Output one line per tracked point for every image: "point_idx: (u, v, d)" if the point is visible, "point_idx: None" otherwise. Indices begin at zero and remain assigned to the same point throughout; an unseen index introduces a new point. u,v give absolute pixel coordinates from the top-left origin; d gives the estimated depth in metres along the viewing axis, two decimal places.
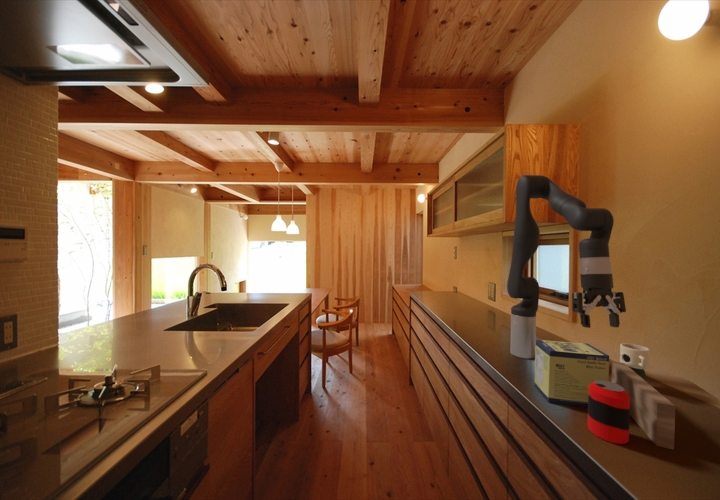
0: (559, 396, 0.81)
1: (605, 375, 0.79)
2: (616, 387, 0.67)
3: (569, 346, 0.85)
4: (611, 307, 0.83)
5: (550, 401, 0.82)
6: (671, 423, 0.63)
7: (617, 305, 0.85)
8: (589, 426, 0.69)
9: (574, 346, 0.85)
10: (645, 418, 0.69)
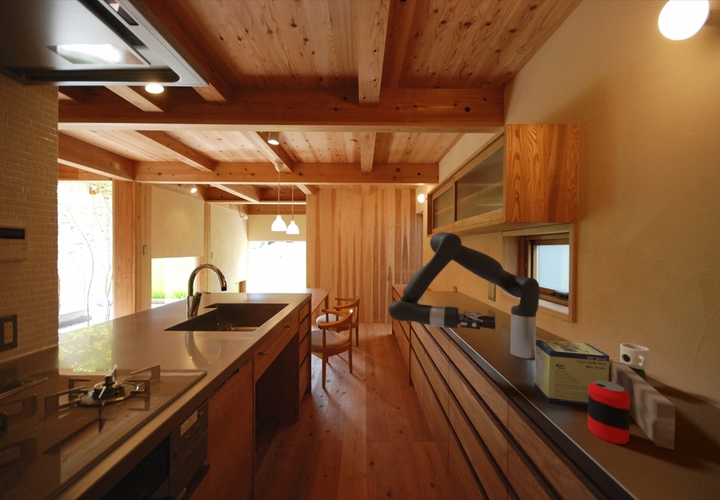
0: (559, 396, 0.81)
1: (605, 375, 0.79)
2: (616, 387, 0.67)
3: (569, 346, 0.85)
4: None
5: (550, 401, 0.82)
6: (671, 423, 0.63)
7: None
8: (589, 426, 0.69)
9: (574, 346, 0.85)
10: (645, 418, 0.69)
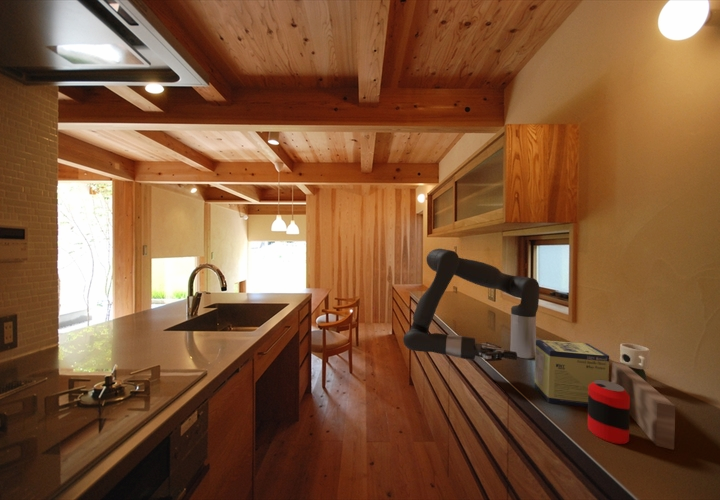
0: (559, 396, 0.81)
1: (605, 375, 0.79)
2: (616, 387, 0.67)
3: (569, 346, 0.85)
4: None
5: (550, 401, 0.82)
6: (671, 423, 0.63)
7: None
8: (589, 426, 0.69)
9: (574, 346, 0.85)
10: (645, 418, 0.69)
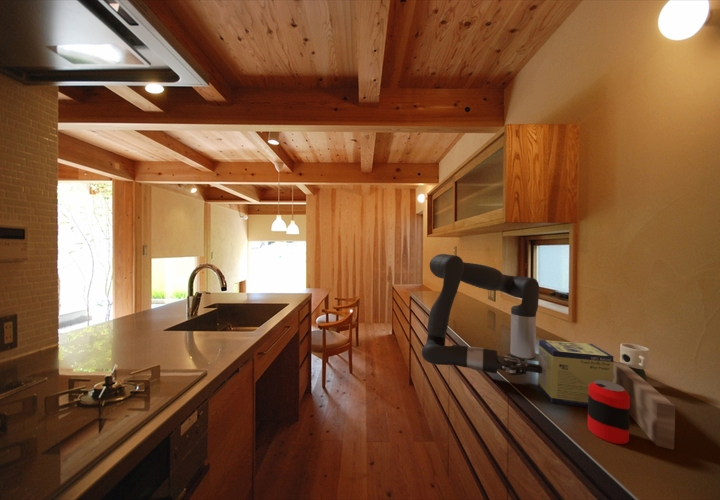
0: (563, 397, 0.81)
1: (609, 376, 0.78)
2: (616, 387, 0.67)
3: (573, 346, 0.85)
4: None
5: (553, 401, 0.81)
6: (671, 423, 0.63)
7: None
8: (589, 426, 0.69)
9: (578, 346, 0.85)
10: (645, 418, 0.69)
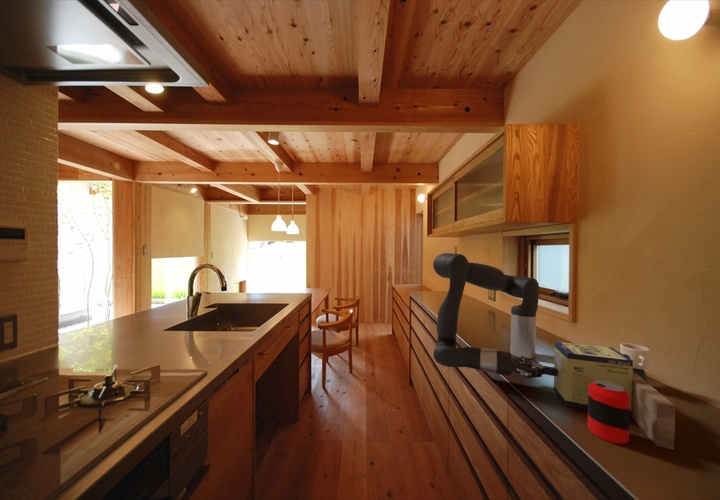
0: (578, 400, 0.79)
1: (628, 380, 0.76)
2: (616, 387, 0.67)
3: (590, 349, 0.83)
4: None
5: (568, 404, 0.80)
6: (671, 423, 0.63)
7: None
8: (589, 426, 0.69)
9: (596, 349, 0.83)
10: (645, 418, 0.69)
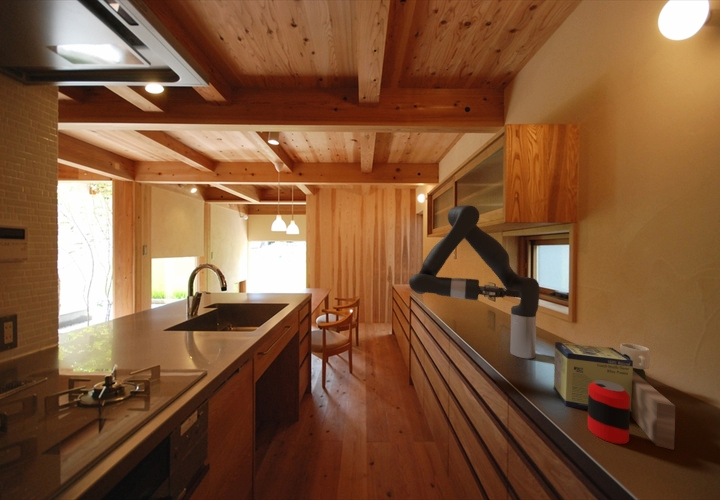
0: (577, 400, 0.79)
1: (628, 381, 0.76)
2: (616, 387, 0.67)
3: (590, 349, 0.83)
4: None
5: (567, 404, 0.80)
6: (671, 423, 0.63)
7: None
8: (589, 426, 0.69)
9: (596, 350, 0.83)
10: (645, 418, 0.69)
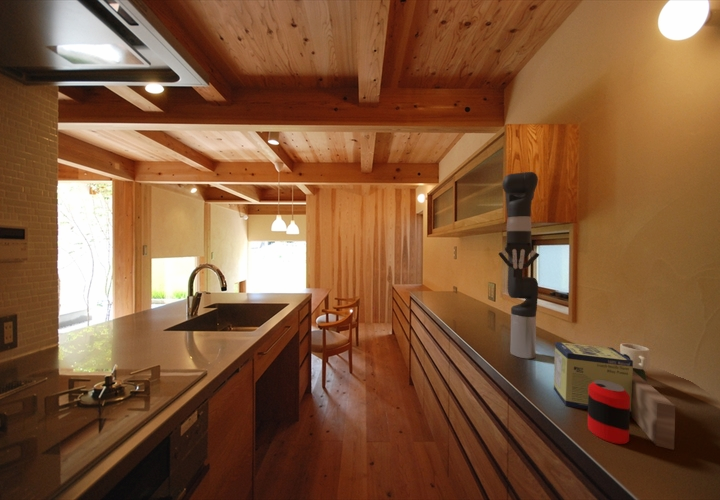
0: (577, 400, 0.79)
1: (628, 381, 0.76)
2: (616, 387, 0.67)
3: (590, 349, 0.83)
4: (519, 260, 0.97)
5: (567, 404, 0.80)
6: (671, 423, 0.63)
7: None
8: (589, 426, 0.69)
9: (596, 350, 0.83)
10: (645, 418, 0.69)
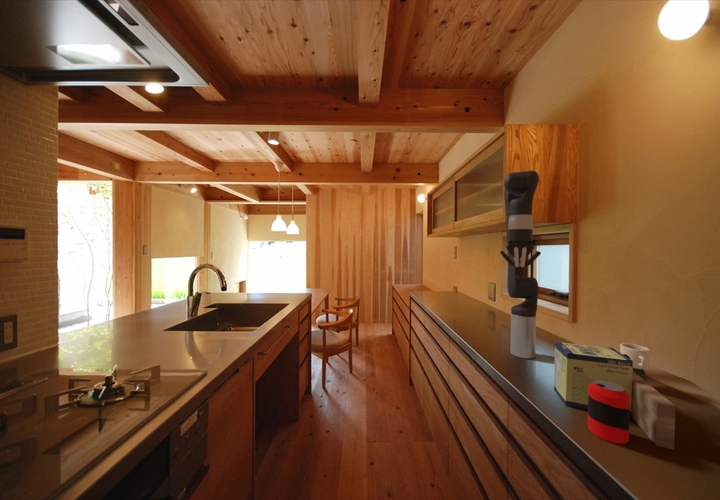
0: (577, 400, 0.79)
1: (628, 381, 0.76)
2: (616, 386, 0.67)
3: (590, 349, 0.83)
4: (521, 258, 0.97)
5: (567, 404, 0.80)
6: (671, 423, 0.63)
7: None
8: (589, 426, 0.69)
9: (596, 350, 0.83)
10: (645, 418, 0.69)
